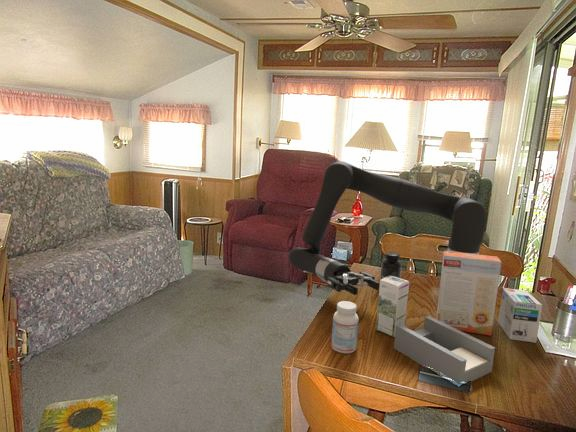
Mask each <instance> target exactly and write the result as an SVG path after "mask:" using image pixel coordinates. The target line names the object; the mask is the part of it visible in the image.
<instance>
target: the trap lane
mask: <svg viewBox="0 0 576 432" xmlns="http://www.w3.org/2000/svg"><path fill="white" fill-rule="evenodd" d="M423 320H424V321H423V327H421V328H418V329H415V330H412V329H410V328H408V327H406V325H405V326H403V325H401V324H400V325H396V332H395V337H394V345H393V349H394V350H397V352H398V353H401V354H403V355H405V356H406V357H408V358H409V359H410V360H412V361H414V362H416V363H417V364H419V365H421V366H422V365H425V366H428V367H430V368H433V369H435V370H437V371H439V372H441V373H443V374H444V375H446V376H448V377H449V378H451V379H452V380H454V381H456V382H457V383H458V384H460V382H462V381H467V380H469V381H471V382H474V381H475V380H477V379H480V378H482V377H484V376H486V375H487V374H488V375H489V374H490V373H492V371H493V365H494V357H495V352H496V351H495V350H496V347H495V346H493V345H491V344H489V343H486V342H485V341H483V340H481V339H478V338H476V337H474V336H472V335H470V334H468V333H466V332H465V331H460V330H457V329H455V328H453V327H451V326H449V325H447V324H445V323H443V322H441V321H439V320H436V318H434V317H432V316H430V315H427V316H424V319H423Z"/></svg>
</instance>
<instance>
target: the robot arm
mask: <svg viewBox="0 0 576 432" xmlns="http://www.w3.org/2000/svg"><path fill="white" fill-rule="evenodd" d="M346 190H351V191H356V192H360V193H363V194H365V195H368V196H369V197H371V198H374V199H375V200H378V201H379V202H381V203H383V204H386V205H388V206H390V207H394V208H397V209H401V210H404V211H410V212H415V213H423V214H431V215H435V216H438V217H441V218H444V219H446V220H448V221H450V222H453V223H452V228H451V235H450V238H449V239H448V243H447V250H446V251H452V252H461V253H470V254H479V255H480V249H481V247H482V244H483V241H484V236H485V229H486V225H487V224H486V223H487V211H486V209H485V207H484V205H482V204H481V203H480V202H478V201H476V200H475V199H472V198H470V197H463V196H456V195H451V194H446V193H442V192H439V191H436V190H434V189H431V188H429V187H427V186H424V185H422V184H419V183H415V182H414V181H410V180H407V179H403V178H399V177H396V176H395V177H394V176H391V175H387V174H382V173H376V172H371V171H367V170H365V169H362V168H360V167H357V166H355V165H353V164H351V163H348V162H346V161H341V160H338V161H334V162H333V163H331V164H329V165H328V166H327V168H326V169H325V171H324V176H323V181H322V186H321V189H320V192H319V196H318V199H317V201H316V204H315V207H314V208H313V211H312V213H311V214H310V217H309V218H308V221H307V223H306V226H305V229H304V230H303V233H302V236H301V240H302V242H304V243H305V244H307V245H308V246H307V248H306V247H299V246H298V247H293V248H292V249H291V250H290V251H289V253H288V262H289V263H290V265H291V266H292V267H293V268H295V269H298V270H301V271H303V272H307V273H310V274H312V275H314V276H316V277H317V278H319V279H320V280H321V281H323V282H326V285H327V286H328V287H329V288H331V289H332V290H334V291H336V292H339V293H340V292H342V291H343V292H348V293H349V294H352V295H353V296H357V295H358V292H359V288H358V287H364V286H367V287H370V288H372V289H374V290H376V291H379V287H380V281H377V280H375V278H376V276H375V275H373V274H371V273H368V272H365V271H362V270H360V271H359V272H358V273H356V272H354V271H351V269H350V267H349V266H348V265H347V264H344V263H343V262H341V261H338V260H336V259H334V258H330V257H327V256H325V255H322V254H320V253H321V247H322V246H321V245H322V241H323V239H324V237H325V235H326V233H327V230H328V228H329V225H330V223H331V220H332V216H333V213H334V211H335V209H336V206H337V205H338V202H339V201H340V199H341V197H342V196H343V194H344V193H345V191H346ZM359 280H360V281H359Z"/></svg>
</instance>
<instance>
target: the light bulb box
mask: <svg viewBox="0 0 576 432" xmlns="http://www.w3.org/2000/svg"><path fill="white" fill-rule="evenodd" d="M542 310H543V304H542V303H541V302H540V301H538V300H537V299H536V298H535V297H534V296H533V295H532V294H531V293H530V292H529V291H528V290H523V289H514V288H507V287H503V288H502V294H501V301H500V309H499V314H498V320H497V323H498V324H499V325H500V327H501V329H502V330H503V332H504V333H505V335H506V336H507V338H508V339H509V340H513V341H518V342H519V341H521V342H527V343H529V342H530V343H537V341H538V340H537V339H538V334H539V333H538V332H539V327H540V322H541V315H542Z"/></svg>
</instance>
